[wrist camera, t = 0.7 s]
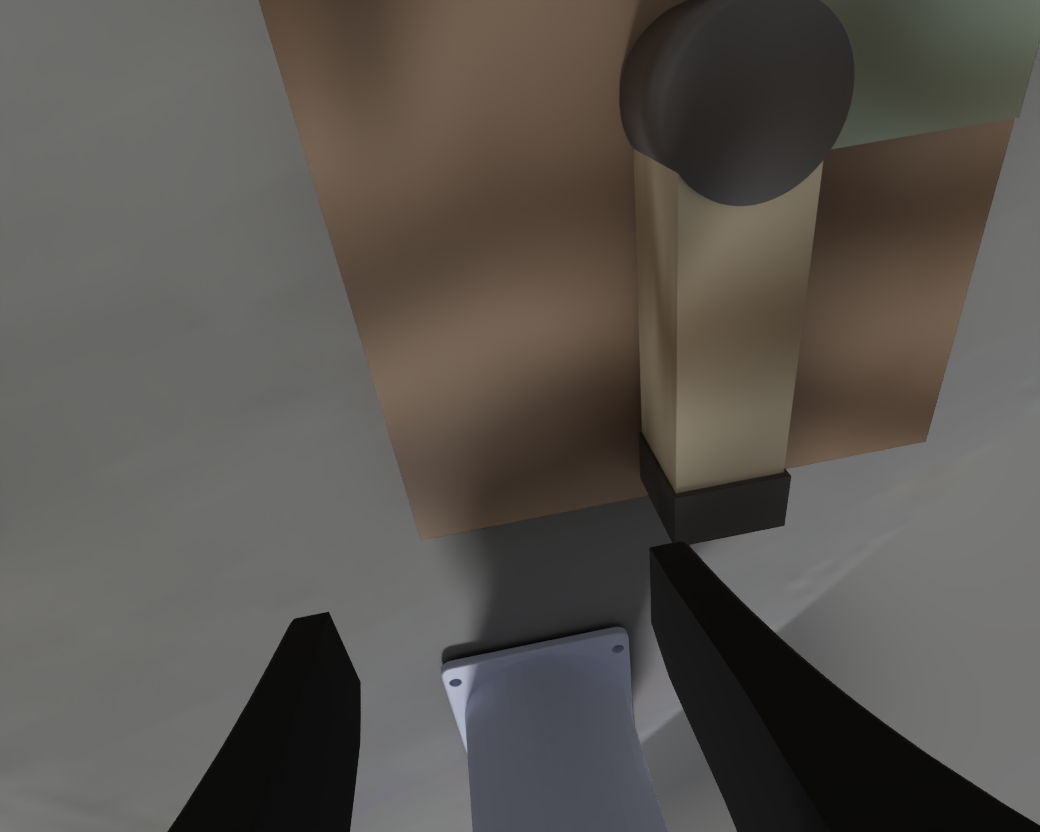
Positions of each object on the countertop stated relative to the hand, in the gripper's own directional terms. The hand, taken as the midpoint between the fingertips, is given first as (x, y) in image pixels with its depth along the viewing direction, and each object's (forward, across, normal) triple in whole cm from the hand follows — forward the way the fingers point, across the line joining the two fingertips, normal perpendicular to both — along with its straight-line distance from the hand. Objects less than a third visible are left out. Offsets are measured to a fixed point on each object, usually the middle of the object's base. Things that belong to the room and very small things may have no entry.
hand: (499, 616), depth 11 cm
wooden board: (+9, -6, -4) cm, 12 cm away
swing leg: (+8, -6, -2) cm, 10 cm away
